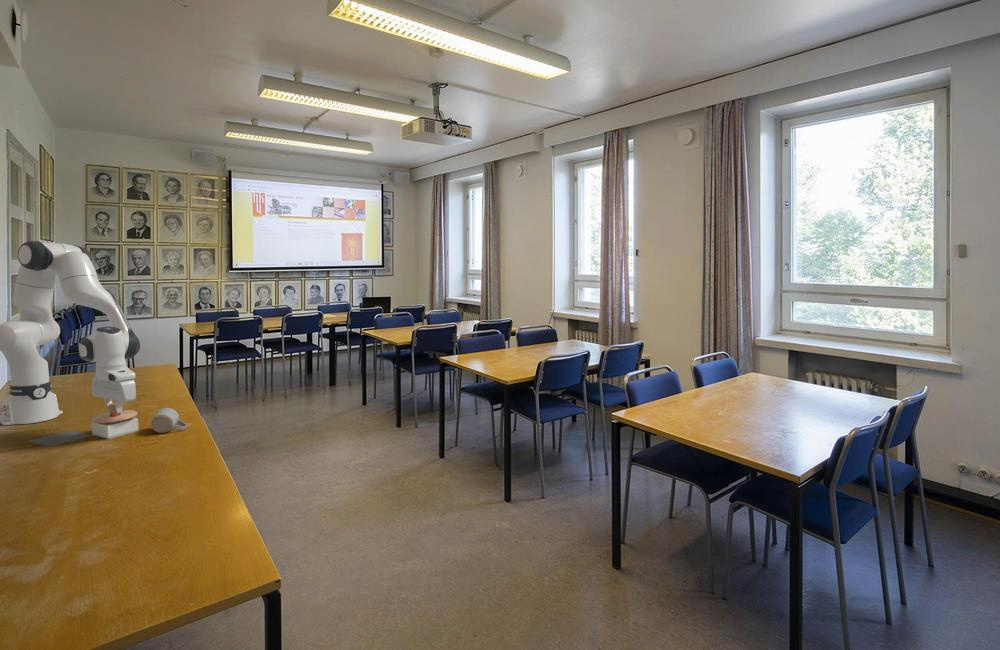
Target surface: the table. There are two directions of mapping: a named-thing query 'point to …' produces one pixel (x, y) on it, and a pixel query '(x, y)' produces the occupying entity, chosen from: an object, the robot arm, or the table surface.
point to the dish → (115, 428)
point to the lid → (114, 415)
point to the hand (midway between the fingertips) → (114, 411)
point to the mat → (60, 438)
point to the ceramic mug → (167, 421)
